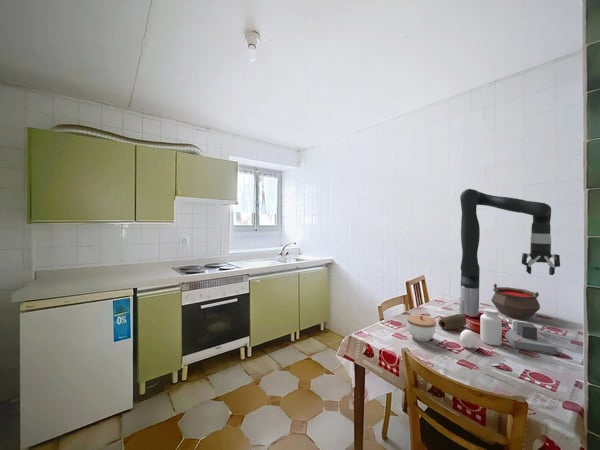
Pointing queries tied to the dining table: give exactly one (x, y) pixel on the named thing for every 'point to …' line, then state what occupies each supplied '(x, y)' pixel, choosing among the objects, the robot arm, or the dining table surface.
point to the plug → (527, 330)
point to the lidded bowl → (421, 327)
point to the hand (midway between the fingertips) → (540, 274)
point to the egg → (468, 339)
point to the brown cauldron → (515, 302)
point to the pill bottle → (491, 327)
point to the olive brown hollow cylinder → (452, 321)
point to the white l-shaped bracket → (515, 324)
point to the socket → (530, 342)
